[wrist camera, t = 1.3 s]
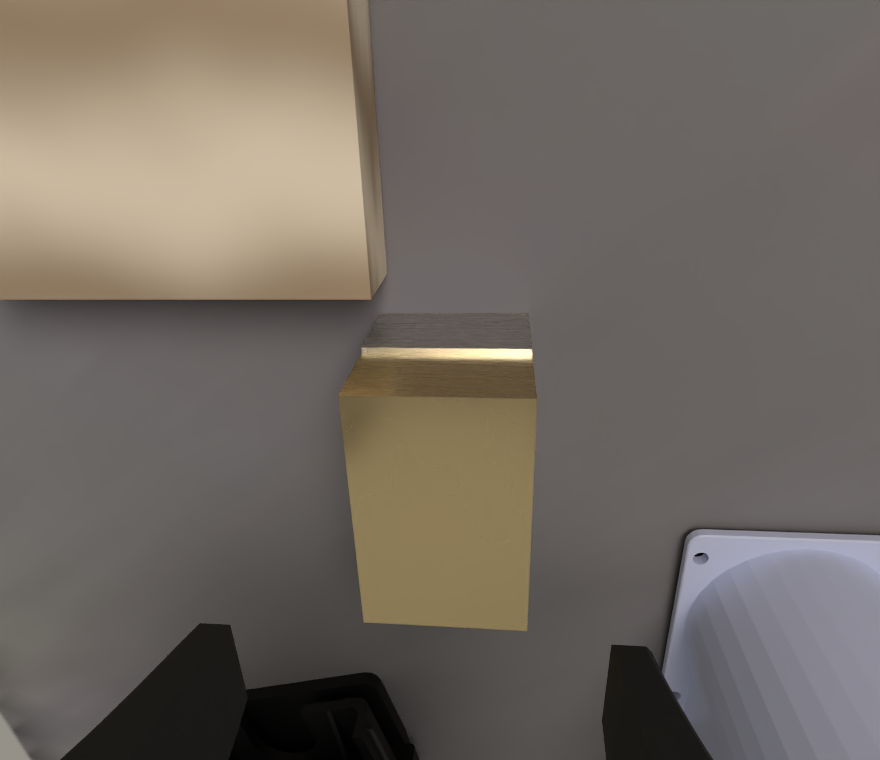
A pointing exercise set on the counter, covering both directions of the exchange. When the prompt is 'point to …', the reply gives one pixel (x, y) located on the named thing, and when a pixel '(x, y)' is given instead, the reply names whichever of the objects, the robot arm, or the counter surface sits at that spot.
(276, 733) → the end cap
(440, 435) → the block
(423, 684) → the counter surface
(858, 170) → the counter surface
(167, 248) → the stand
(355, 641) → the counter surface
